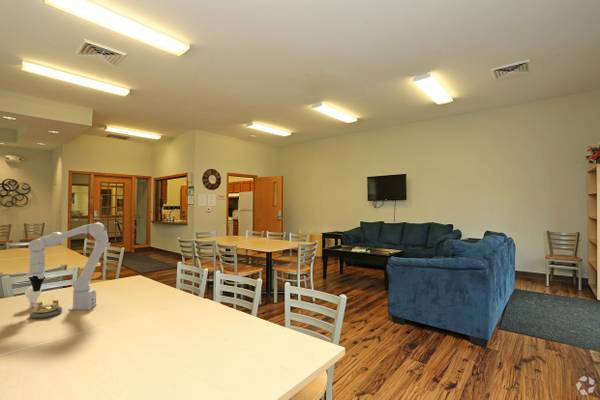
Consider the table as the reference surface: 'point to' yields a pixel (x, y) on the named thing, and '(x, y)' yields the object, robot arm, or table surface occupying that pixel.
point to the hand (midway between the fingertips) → (36, 291)
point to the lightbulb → (32, 296)
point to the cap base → (45, 314)
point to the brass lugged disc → (46, 307)
